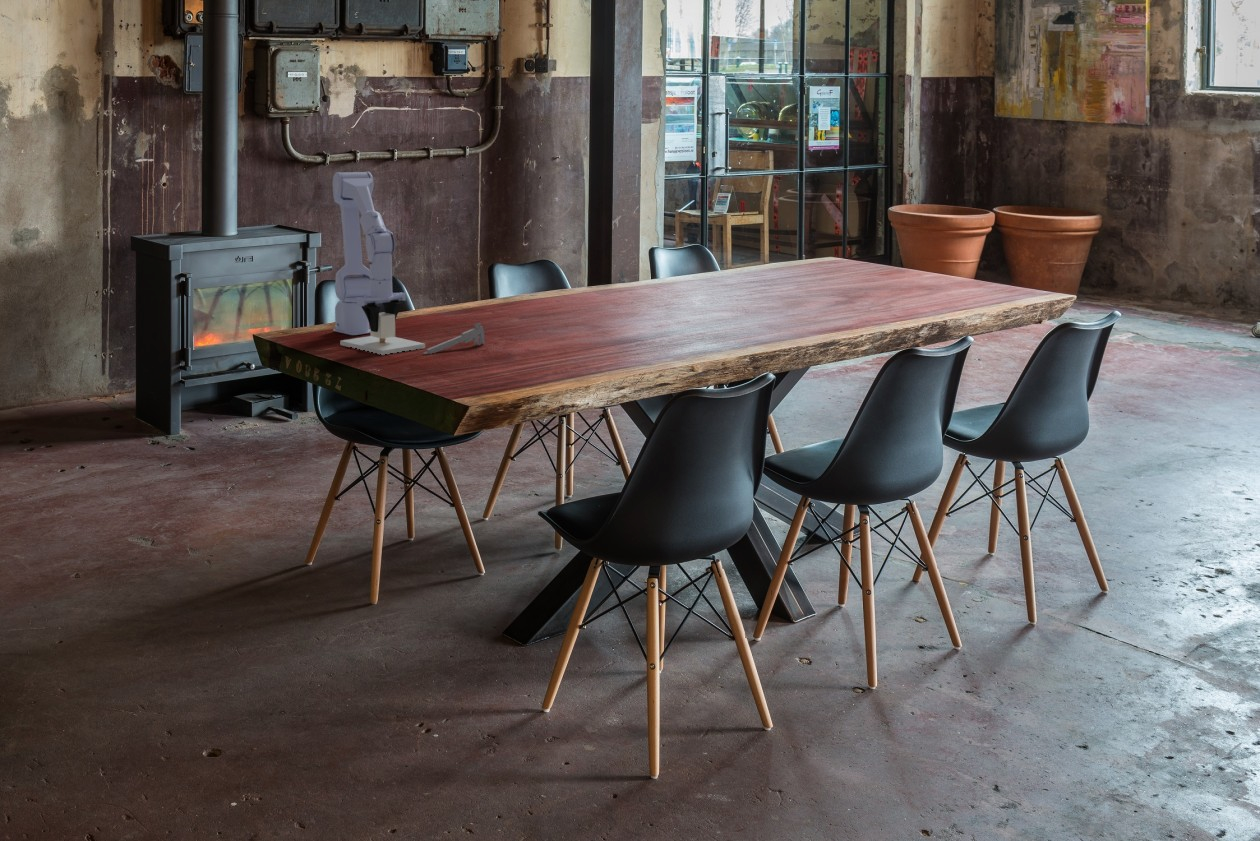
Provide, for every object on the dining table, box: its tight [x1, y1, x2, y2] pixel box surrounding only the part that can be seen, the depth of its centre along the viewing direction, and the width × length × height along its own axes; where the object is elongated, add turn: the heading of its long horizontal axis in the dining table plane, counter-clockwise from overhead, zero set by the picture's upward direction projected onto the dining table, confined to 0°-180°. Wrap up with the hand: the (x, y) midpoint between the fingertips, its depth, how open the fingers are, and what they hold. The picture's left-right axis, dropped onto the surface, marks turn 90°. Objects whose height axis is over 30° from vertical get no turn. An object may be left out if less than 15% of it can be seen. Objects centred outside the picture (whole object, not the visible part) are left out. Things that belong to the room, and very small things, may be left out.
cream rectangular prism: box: [369, 311, 396, 338], centre depth 368 cm, size 5×5×6 cm
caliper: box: [423, 322, 485, 355], centre depth 368 cm, size 20×1×6 cm, turn 138°
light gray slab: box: [339, 335, 426, 356], centre depth 369 cm, size 18×14×6 cm
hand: (382, 330), depth 368 cm, fingers closed on cream rectangular prism, 5 cm apart
